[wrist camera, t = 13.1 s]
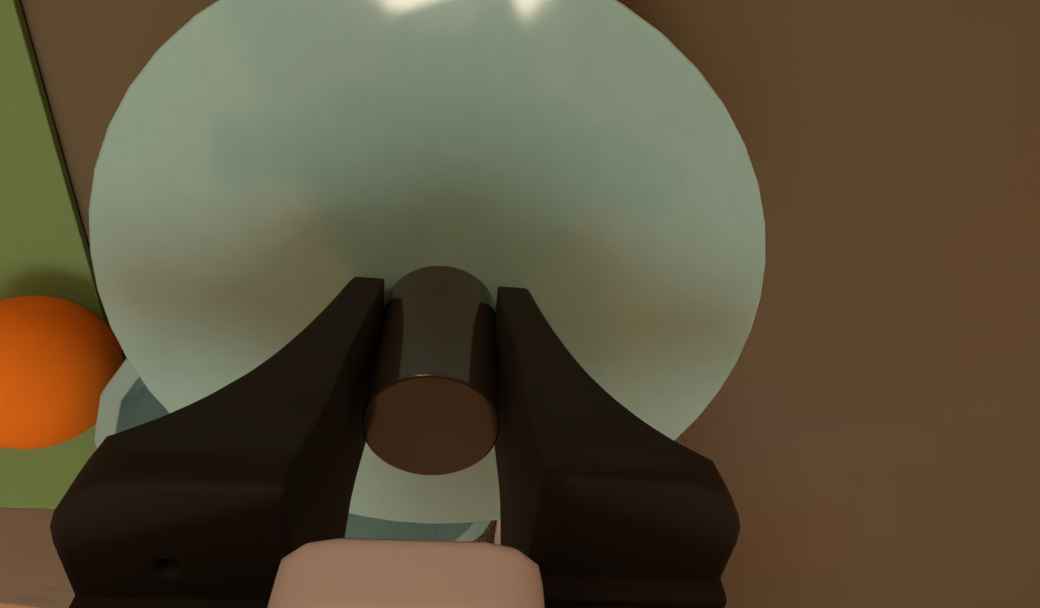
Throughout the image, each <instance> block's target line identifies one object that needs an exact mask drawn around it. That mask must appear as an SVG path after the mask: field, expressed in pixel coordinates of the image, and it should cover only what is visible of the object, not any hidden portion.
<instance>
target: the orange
mask: <svg viewBox="0 0 1040 608" xmlns="http://www.w3.org/2000/svg"><path fill="white" fill-rule="evenodd" d="M122 362H123V355H122V351H121V348H120V345H119V343H118V341H117V339H116V337H115V335H114V333H113V332H112V331H111V329H110V328H109V327H108V325H107V324H106V323H105V322H104V321H103V320H102V319H101V318H99V317H98V316H97V315H95V314H94V313H93V312H91V311H90V310H88V309H86V308H85V307H83V306H81V305H79V304H76V303H74V302H71V301H68V300H65V299H60V298H56V297H51V296H39V295H32V296H19V297H13V298H7V299H4V300H1V301H0V447H2V448H9V449H22V450H23V449H38V448H44V447H50V446H53V445H57V444H60V443H63V442H66V441H68V440H70V439H73V438H75V437H77V436H79V435H80V434H82V433H84V432H85V431H87V430H88V429H90V428H91V427H92V426H94V425H95V424H96V423H97V416H98V409H99V402H100V395H101V393H102V391H103V389H104V388H105V386H106V385H107V384H108V382H109V381H110V379H111V378H112V376H113V375H114V374H115V372H116V371H117V369H118V368H119V367H120V365H121V364H122Z"/></svg>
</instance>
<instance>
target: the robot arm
mask: <svg viewBox="0 0 1040 608" xmlns="http://www.w3.org/2000/svg"><path fill="white" fill-rule="evenodd" d="M383 313H384V279H382V278H367V277H354V278H353V279H352V280H350V281H349V282H348V283H347V285H346V286H345V287H344V288H343V289H342V290H341V292H340V293H339V294H338V295H337V296H336V297H335V298H334V299H333V300H332V302H331V303H330V304H329V305H328V306H327V307H326V308H325V309H324V310H323V311H322V312H321V313H320V314H319V315H318V316H317V317H316V318H315V319H314V320H313V321H312V322H311V323H310V324H309V325H308V326H307V327H306V328H305V329H304V330H303V331H301V332H300V333H299V334H298V335H297V336H296V337H294V338H293V339H292V340H291V341H290V342H289V343H288V344H286V345H285V346H284V347H283V348H282V349H281V350H279V351H278V352H277V353H275V354H274V355H273V356H272V357H270V358H269V359H268V360H266V361H265V362H264V363H262V364H261V365H259V366H258V367H256V368H255V369H253V370H252V371H250V372H249V373H247V374H246V375H244V376H242V377H240V378H239V379H237V380H235V381H233V382H232V383H230V384H228V385H226V386H225V387H223V388H221V389H219V390H218V391H216V392H214V393H212V394H210V395H208V396H206V397H204V398H202V399H200V400H198V401H196V402H194V403H192V404H190V405H188V406H186V407H183V408H181V409H179V410H177V411H174V412H172V413H170V414H167V415H165V416H162V417H160V418H158V419H155V420H152V421H149V422H147V423H144V424H141V425H138V426H136V427H133V428H130V429H127V430H124V431H122V432H119V433H116V434H113V435H110V436H107V437H106V438H105V439H104V441H103V442H102V443H101V444H100V446H99V447H98V448H97V449H96V451H95V452H94V453H93V454H92V455H91V457H90V458H89V459H88V461H87V462H86V463H85V465H84V466H83V468H82V469H81V471H80V472H79V474H78V475H77V477H76V478H75V480H74V481H73V483H72V484H71V486H70V487H69V489H68V490H67V492H66V494H65V495H64V497H63V498H62V500H61V501H60V503H59V504H58V506H57V507H56V509H55V510H54V513H53V517H52V521H51V524H50V529H51V534H52V539H53V543H54V545H55V548H56V550H57V553H58V555H59V557H60V560H61V562H62V564H63V567H64V569H65V572H66V574H67V576H68V579H69V581H70V584H71V586H72V588H73V591H74V593H75V597H74V599H73V601H72V603H71V605H70V606H69V608H724V607H725V605H726V595H725V592H724V589H723V586H722V583H721V580H720V578H721V576H722V573H723V571H724V569H725V567H726V565H727V562H728V560H729V558H730V556H731V553H732V551H733V549H734V547H735V545H736V542H737V539H738V535H739V531H740V523H739V517H738V513H737V510H736V508H735V505H734V503H733V500H732V498H731V495H730V493H729V491H728V489H727V487H726V485H725V483H724V481H723V479H722V477H721V476H720V474H719V472H718V470H717V469H716V467H715V464H714V462H713V461H711V460H709V459H707V458H705V457H704V456H702V455H700V454H698V453H696V452H694V451H692V450H690V449H688V448H686V447H685V446H683V445H681V444H679V443H677V442H675V441H673V440H672V439H670V438H669V437H667V436H665V435H664V434H662V433H661V432H659V431H657V430H656V429H654V428H653V427H651V426H650V425H648V424H647V423H645V422H644V421H643V420H641V419H640V418H638V417H637V416H636V415H634V414H633V413H632V412H630V411H629V410H628V409H627V408H625V407H624V406H623V405H621V404H620V403H619V402H618V401H616V400H615V399H614V398H613V397H612V396H611V395H609V394H608V393H607V392H606V391H605V390H604V389H603V388H602V387H601V386H600V385H599V384H598V383H597V382H596V381H595V380H594V379H593V378H591V377H590V376H589V375H588V373H587V372H586V371H585V370H584V369H583V368H582V367H581V365H580V364H579V363H578V362H577V361H576V360H575V358H574V357H573V356H572V355H571V353H570V352H569V351H568V350H567V348H566V347H565V346H564V344H563V343H562V342H561V340H560V339H559V337H558V336H557V335H556V333H555V332H554V331H553V329H552V328H551V326H550V325H549V323H548V322H547V320H546V318H545V317H544V315H543V314H542V312H541V310H540V309H539V307H538V305H537V304H536V302H535V300H534V298H533V297H532V295H531V293H530V292H529V291H528V289H527V288H515V287H500V286H498V293H497V302H496V311H495V317H496V342H497V356H498V380H499V406H500V432H499V436H498V438H497V441H496V443H495V445H494V446H495V455H496V464H497V472H498V481H499V493H500V519H499V520H497V521H496V528H495V535H494V543H488V542H469V541H433V540H396V539H360V538H345V533H346V527H347V521H348V515H349V509H350V502H351V497H352V493H353V488H354V484H355V479H356V476H357V472H358V469H359V465H360V461H361V458H362V454H363V451H364V447H365V443H366V440H365V438H364V436H363V432H362V427H361V417H362V412H363V407H364V403H365V398H366V393H367V388H368V384H369V379H370V374H371V369H372V365H373V360H374V355H375V350H376V345H377V341H378V336H379V332H380V327H381V322H382V317H383Z"/></svg>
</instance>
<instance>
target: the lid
mask: <svg viewBox="0 0 1040 608" xmlns="http://www.w3.org/2000/svg"><path fill="white" fill-rule="evenodd" d="M89 233H90V254H91V259H92V264H93V269H94V274H95V280H96V285H97V290H98V293H99V296H100V298H101V301H102V304H103V307H104V310H105V313H106V315H107V318H108V321H109V324H110V327H111V329H112V330H113V332H114V334H115V336H116V338H117V340H118V342H119V344H120V346H121V348H122V350H123V352H124V354H125V355H126V357H127V359H128V361H129V362H130V364H131V365H132V367H133V368H134V370H135V371H136V372H137V374H138V375H139V377H140V378H141V380H142V381H143V382H144V384H145V385H146V387H147V388H148V390H149V391H150V392H151V393H152V394H153V395H154V397H155V398H156V399H157V400H158V401H159V402H160V403H161V404H162V405H163V407H164V408H165V409H166V410H167V411H168V412H169V413H172V412H174V411H177V410H179V409H181V408H183V407H186V406H188V405H190V404H192V403H194V402H196V401H198V400H200V399H202V398H204V397H206V396H208V395H210V394H212V393H214V392H216V391H218V390H219V389H221V388H223V387H225V386H226V385H228V384H230V383H232V382H233V381H235V380H237V379H239V378H240V377H242V376H244V375H246V374H247V373H249V372H250V371H252V370H253V369H255V368H256V367H258V366H259V365H261V364H262V363H264V362H265V361H266V360H268V359H269V358H270V357H272V356H273V355H274V354H275V353H277V352H278V351H279V350H281V349H282V348H283V347H284V346H285V345H286V344H288V343H289V342H290V341H291V340H292V339H293V338H294V337H296V336H297V335H298V334H299V333H300V332H301V331H303V330H304V329H305V328H306V327H307V326H308V325H309V324H310V323H311V322H312V321H313V320H314V319H315V318H316V317H317V316H318V315H319V314H320V313H321V312H322V311H323V310H324V309H325V308H326V307H327V306H328V305H329V304H330V303H331V302H332V300H333V299H334V298H335V297H336V296H337V295H338V294H339V293H340V292H341V290H342V289H343V288H344V287H345V286H346V285H347V283H348V282H349V281H350V280H352V279H353V278H354V277H367V278H382V279H384V313H383V317H382V322H381V327H380V332H379V336H378V341H377V345H376V350H375V355H374V360H373V365H372V369H371V374H370V379H369V384H368V388H367V393H366V398H365V403H364V407H363V412H362V417H361V427H362V432H363V436H364V438H365V440H366V443H365V447H364V451H363V454H362V458H361V461H360V465H359V469H358V472H357V476H356V479H355V484H354V488H353V493H352V497H351V502H350V509H349V513H351V514H355V515H359V516H364V517H370V518H377V519H383V520H389V521H396V522H410V523H424V524H457V523H472V522H482V521H492V520H499V519H500V493H499V481H498V472H497V464H496V455H495V446H494V445H495V443H496V441H497V438H498V436H499V432H500V406H499V380H498V356H497V342H496V317H495V311H496V302H497V293H498V286H500V287H515V288H527V289H528V291H529V292H530V293H531V295H532V297H533V298H534V300H535V302H536V304H537V305H538V307H539V309H540V310H541V312H542V314H543V315H544V317H545V318H546V320H547V322H548V323H549V325H550V326H551V328H552V329H553V331H554V332H555V333H556V335H557V336H558V337H559V339H560V340H561V342H562V343H563V344H564V346H565V347H566V348H567V350H568V351H569V352H570V353H571V355H572V356H573V357H574V358H575V360H576V361H577V362H578V363H579V364H580V365H581V367H582V368H583V369H584V370H585V371H586V372H587V373H588V375H589V376H590V377H591V378H593V379H594V380H595V381H596V382H597V383H598V384H599V385H600V386H601V387H602V388H603V389H604V390H605V391H606V392H607V393H608V394H609V395H611V396H612V397H613V398H614V399H615V400H616V401H618V402H619V403H620V404H621V405H623V406H624V407H625V408H627V409H628V410H629V411H630V412H632V413H633V414H634V415H636V416H637V417H638V418H640V419H641V420H643V421H644V422H645V423H647V424H648V425H650V426H651V427H653V428H654V429H656V430H657V431H659V432H661V433H662V434H664V435H665V436H667V437H669V438H670V439H672V440H673V441H675V440H676V439H677V438H678V437H679V436H680V435H681V434H682V433H683V432H684V431H685V430H686V429H687V428H688V427H689V426H690V425H691V424H692V423H693V422H694V421H695V420H696V419H697V418H698V417H699V416H700V414H701V413H702V412H703V411H704V409H705V408H706V407H707V406H708V404H709V403H710V402H711V401H712V399H713V398H714V397H715V396H716V394H717V393H718V392H719V390H720V389H721V387H722V386H723V384H724V382H725V381H726V379H727V377H728V376H729V374H730V373H731V371H732V369H733V368H734V366H735V365H736V363H737V361H738V358H739V356H740V354H741V352H742V350H743V347H744V345H745V343H746V341H747V338H748V336H749V334H750V332H751V328H752V325H753V322H754V318H755V315H756V311H757V308H758V304H759V301H760V297H761V290H762V283H763V276H764V268H765V261H766V254H765V219H764V213H763V207H762V201H761V196H760V190H759V184H758V181H757V178H756V175H755V172H754V169H753V166H752V163H751V160H750V157H749V154H748V151H747V148H746V145H745V143H744V141H743V139H742V137H741V135H740V133H739V131H738V129H737V127H736V125H735V124H734V122H733V120H732V118H731V116H730V114H729V112H728V110H727V108H726V106H725V105H724V103H723V102H722V100H721V99H720V98H719V96H718V95H717V94H716V92H715V91H714V90H713V88H712V87H711V86H710V84H709V83H708V82H707V80H706V79H705V77H704V76H703V75H702V73H701V72H700V71H699V69H698V68H697V67H696V66H695V65H694V64H693V63H692V62H691V61H690V60H689V59H688V58H687V57H686V56H685V55H684V54H683V53H682V52H681V51H680V50H679V49H678V48H677V47H676V46H675V45H674V44H673V43H672V42H671V41H670V40H669V39H668V38H667V37H666V36H665V35H664V34H663V33H662V32H661V31H660V30H659V29H658V28H656V27H655V26H654V25H652V24H651V23H649V22H648V21H647V20H645V19H644V18H643V17H641V16H640V15H639V14H637V13H636V12H634V11H633V10H632V9H630V8H629V7H628V6H626V5H625V4H623V3H622V2H621V1H619V0H218V1H216V2H214V3H213V4H211V5H210V6H208V7H207V8H205V9H203V10H202V11H200V12H199V13H197V14H196V15H195V16H194V17H193V18H191V19H190V20H189V21H188V22H187V23H186V24H185V25H184V26H183V27H181V28H180V29H179V30H178V31H177V32H176V33H175V34H174V35H173V36H172V37H170V38H169V39H168V40H167V41H166V42H165V43H164V44H163V45H162V46H161V47H159V48H158V50H157V51H156V52H155V54H154V55H153V56H152V57H151V59H150V60H149V61H148V63H147V64H146V65H145V66H144V68H143V69H142V70H141V72H140V73H139V74H138V75H137V77H136V78H135V79H134V81H133V82H132V83H131V84H130V86H129V87H128V89H127V91H126V93H125V95H124V97H123V99H122V101H121V103H120V104H119V106H118V108H117V110H116V112H115V114H114V116H113V118H112V120H111V121H110V123H109V125H108V128H107V131H106V134H105V137H104V140H103V143H102V146H101V150H100V153H99V156H98V159H97V162H96V165H95V169H94V176H93V183H92V191H91V198H90V205H89Z"/></svg>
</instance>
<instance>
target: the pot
mask: <svg viewBox="0 0 1040 608" xmlns="http://www.w3.org/2000/svg"><path fill="white" fill-rule="evenodd" d="M167 414H170V413H169V412H168V411H167V410H166V409H165V408H164V407H163V405H162V404H161V403H160V402H159V401H158V400H157V399H156V398H155V397H154V395H153V394H152V393H151V392H150V391H149V390H148V388H147V387H146V385H145V384H144V382H143V381H142V380H141V378H140V377H139V375H138V374H137V372H136V371H135V370H134V368H133V367H132V365H131V364H130V362H129V361H128V359H127V357H126V358H125V359H124V361H123V362H122V364H121V365H120V367H119V368H118V369H117V371H116V372H115V374H114V375H113V376H112V378H111V379H110V381H109V382H108V384H107V385H106V386H105V388H104V389H103V391H102V393H101V395H100V402H99V409H98V416H97V423H96V429H95V436H94V441H95V445H96V448H98V447H99V446H100V444H101V443H102V442H103V441H104V439H105V438H106V437H107V436H110V435H113V434H116V433H119V432H122V431H124V430H127V429H130V428H133V427H136V426H138V425H141V424H144V423H147V422H149V421H152V420H155V419H158V418H160V417H162V416H165V415H167ZM490 522H491V521H482V522H472V523H457V524H424V523H410V522H396V521H389V520H383V519H377V518H370V517H364V516H359V515H355V514H351V513H349V515H348V521H347V527H346V533H345V538H360V539H396V540H433V541H469V542H473V541H474V540H476V539H477V538H478V537H479V536H481V535H482V533H484V531H485V530H486V528H487V526H488V525H489V523H490Z"/></svg>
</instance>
